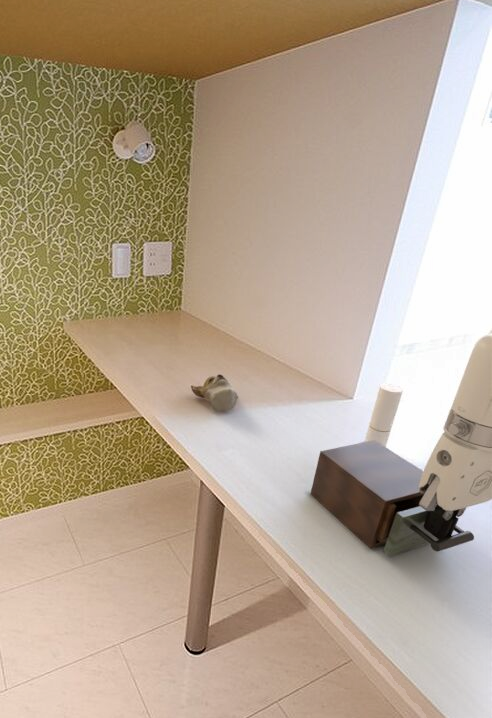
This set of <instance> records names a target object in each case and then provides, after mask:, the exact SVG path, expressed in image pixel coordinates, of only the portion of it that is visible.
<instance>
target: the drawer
mask: <svg viewBox="0 0 492 718" xmlns="http://www.w3.org/2000/svg"><path fill="white" fill-rule="evenodd" d="M423 496H424V495H421V496H417V497H413V498H410V499H406V500H402V501H399V502H395V503H391V504H388V507H387V510H386V513H385V516H384V519H383V522H382V525H381V528H380V531H379V534H378V537H377V540H378V541H379V542H380V543H381V542H384V541H387V542H386V544H384V548H383V553H385V554H386V555H387V556H388V557H392V556H396V555H399V554H402V553H405V552H408V551H411V550H414V549H417V548H421V547H424V546H427V545H430V548H431V549H432V550H433V551H434V552H437V553H438V552H441V551H442V552H443V551H445V550H447V549H450V548H453V547H456V546H460V545H462V544H463V545H464V544H466V543H469V542H471V541H472V542H473V541H474V539H475V536H474V533H472V532H471V531H469V530H463V529H462V528H460V527H459V526H457V525H456V526H455V528H454V531H453V532H456V534H455V533H454V534H452V535H451V536H449V537H446V538H443V539H440V540H439V539H437V538H436V537H435V536H433V535H432V534H431V533H429V532H428V531H427V530H426V529H424V527H423V526H424V523H425V520H426V518H427V515H428V513H429V511H426V510H425V509H423V508H422V507H421V506H419V503H420V501H421V499H422V497H423Z"/></svg>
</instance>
